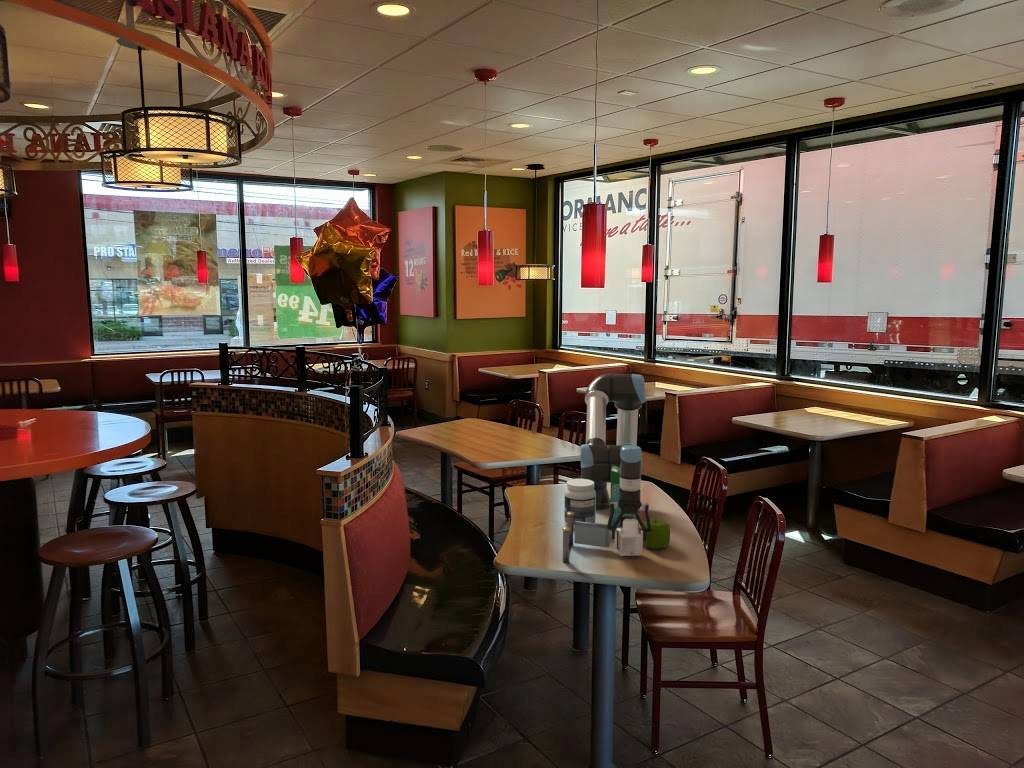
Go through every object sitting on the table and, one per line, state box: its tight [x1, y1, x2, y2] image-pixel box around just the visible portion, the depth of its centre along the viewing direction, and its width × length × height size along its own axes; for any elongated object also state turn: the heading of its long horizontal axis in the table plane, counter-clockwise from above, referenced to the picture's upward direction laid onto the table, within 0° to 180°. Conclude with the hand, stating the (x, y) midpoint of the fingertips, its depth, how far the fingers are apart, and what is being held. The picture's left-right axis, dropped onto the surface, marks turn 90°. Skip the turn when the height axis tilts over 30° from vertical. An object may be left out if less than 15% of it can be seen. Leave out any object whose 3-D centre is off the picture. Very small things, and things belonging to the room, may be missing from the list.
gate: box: [573, 521, 611, 549], centre depth 271 cm, size 13×2×9 cm, turn 70°
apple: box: [640, 518, 672, 550], centre depth 272 cm, size 11×11×11 cm
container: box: [616, 515, 642, 557], centre depth 263 cm, size 8×8×13 cm
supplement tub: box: [563, 478, 597, 530], centre depth 295 cm, size 13×13×18 cm
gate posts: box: [561, 512, 574, 564], centre depth 265 cm, size 20×3×13 cm, turn 170°
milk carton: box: [609, 465, 635, 532], centre depth 292 cm, size 9×9×25 cm
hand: (628, 548), depth 264 cm, fingers closed on container, 9 cm apart
